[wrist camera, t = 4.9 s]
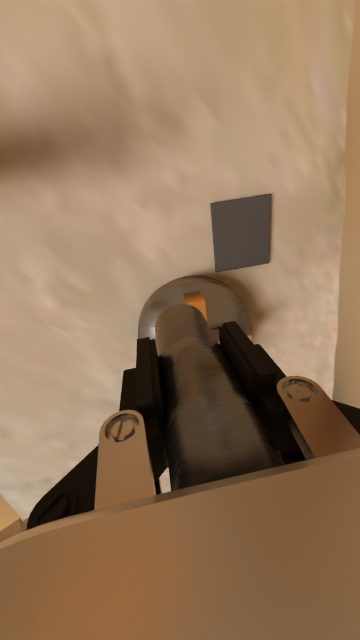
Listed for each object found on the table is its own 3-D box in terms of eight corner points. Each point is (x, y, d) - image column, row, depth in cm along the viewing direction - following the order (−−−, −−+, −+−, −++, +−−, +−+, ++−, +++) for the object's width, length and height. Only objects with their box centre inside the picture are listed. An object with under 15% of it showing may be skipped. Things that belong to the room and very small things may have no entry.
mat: (210, 203, 29) (211, 203, 28) (269, 194, 29) (270, 194, 29) (215, 271, 32) (216, 272, 32) (267, 262, 33) (269, 263, 32)
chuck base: (126, 287, 31) (125, 295, 29) (241, 266, 32) (251, 272, 30) (149, 380, 38) (150, 393, 35) (244, 361, 39) (252, 372, 36)
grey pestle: (150, 309, 14) (166, 511, 5) (203, 299, 14) (317, 476, 5) (159, 354, 15) (186, 580, 6) (208, 345, 15) (304, 550, 6)
